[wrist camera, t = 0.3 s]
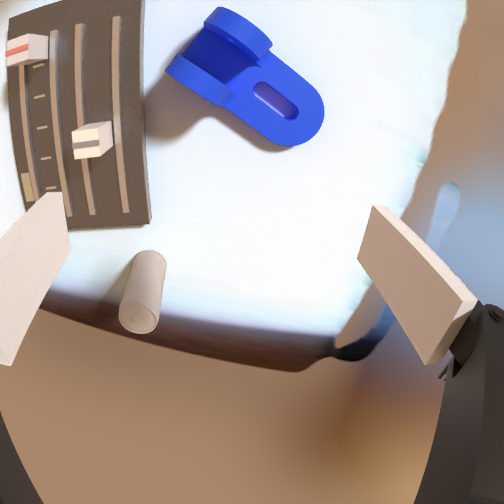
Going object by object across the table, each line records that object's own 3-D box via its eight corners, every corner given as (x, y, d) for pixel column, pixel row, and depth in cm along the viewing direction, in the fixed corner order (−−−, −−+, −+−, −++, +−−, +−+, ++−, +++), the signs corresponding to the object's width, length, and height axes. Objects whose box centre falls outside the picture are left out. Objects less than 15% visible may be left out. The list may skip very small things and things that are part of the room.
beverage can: (127, 259, 44) (109, 316, 34) (151, 241, 43) (136, 296, 33) (150, 281, 46) (138, 340, 36) (174, 264, 45) (167, 322, 35)
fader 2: (87, 123, 31) (70, 132, 27) (111, 120, 32) (97, 128, 27) (89, 148, 33) (73, 159, 28) (113, 145, 33) (100, 156, 29)
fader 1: (28, 42, 24) (5, 41, 20) (48, 36, 24) (27, 33, 20) (27, 64, 26) (5, 66, 21) (48, 58, 26) (27, 59, 22)
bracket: (171, 71, 32) (160, 69, 24) (215, 17, 29) (217, 0, 21) (290, 155, 39) (310, 177, 32) (331, 106, 36) (362, 117, 29)
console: (16, 19, 23) (6, 18, 21) (145, -13, 25) (141, -18, 23) (37, 224, 39) (29, 233, 37) (151, 217, 41) (148, 226, 39)
